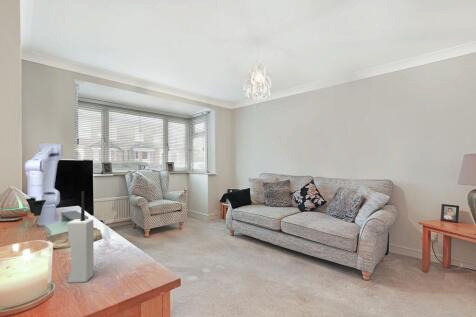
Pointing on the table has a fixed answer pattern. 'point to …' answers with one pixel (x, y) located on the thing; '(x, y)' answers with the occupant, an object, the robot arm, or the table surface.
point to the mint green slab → (56, 228)
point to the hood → (71, 216)
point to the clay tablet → (63, 239)
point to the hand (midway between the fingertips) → (35, 214)
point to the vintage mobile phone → (81, 248)
